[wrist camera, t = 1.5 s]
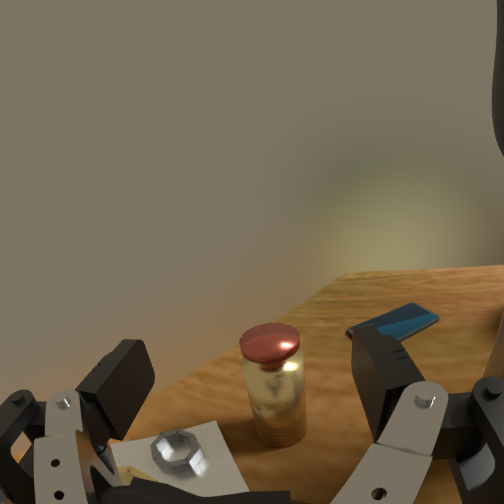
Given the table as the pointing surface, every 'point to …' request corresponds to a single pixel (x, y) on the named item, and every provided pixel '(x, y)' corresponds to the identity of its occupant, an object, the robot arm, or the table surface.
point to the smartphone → (402, 321)
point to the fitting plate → (182, 461)
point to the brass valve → (275, 383)
